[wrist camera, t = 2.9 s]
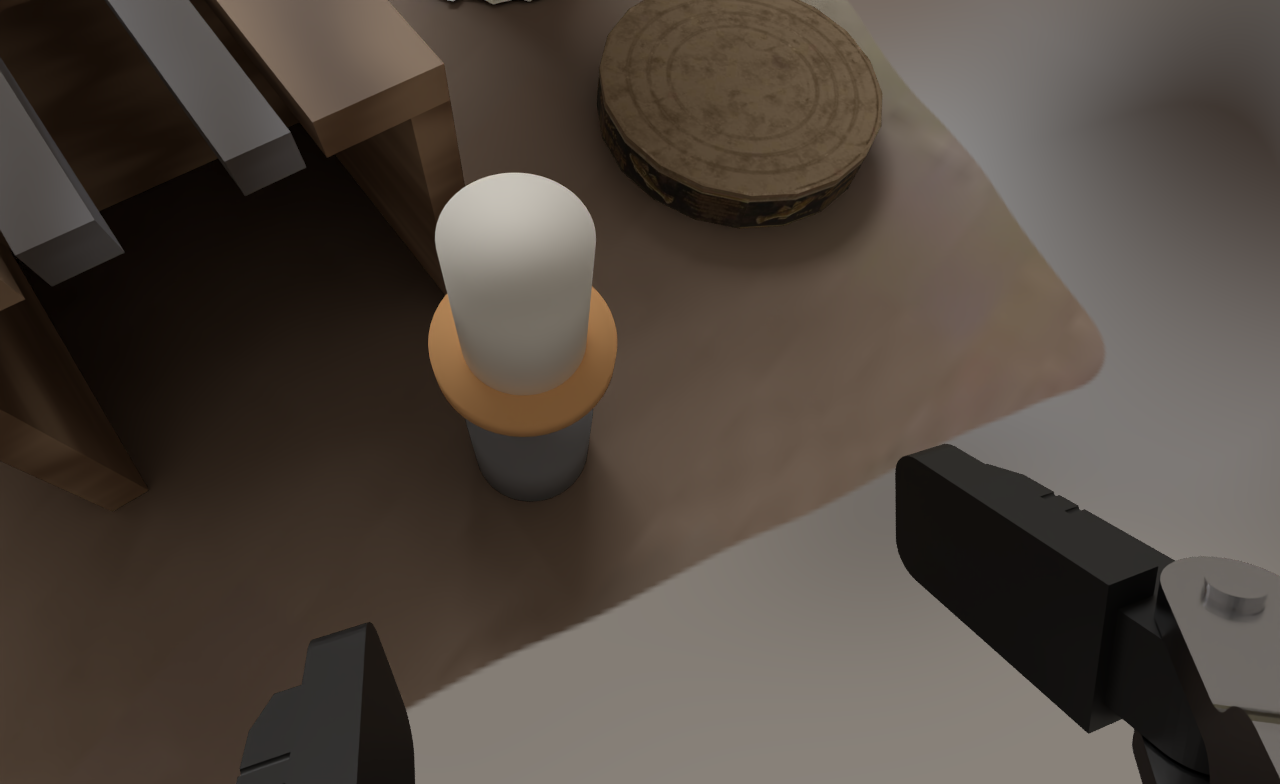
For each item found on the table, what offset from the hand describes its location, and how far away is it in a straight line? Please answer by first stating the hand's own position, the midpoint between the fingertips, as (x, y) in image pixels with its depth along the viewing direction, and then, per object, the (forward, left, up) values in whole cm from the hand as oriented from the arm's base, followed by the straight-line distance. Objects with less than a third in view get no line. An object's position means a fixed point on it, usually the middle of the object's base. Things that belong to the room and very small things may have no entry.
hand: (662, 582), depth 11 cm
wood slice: (+29, +12, -21) cm, 38 cm away
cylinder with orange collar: (+6, +8, -21) cm, 23 cm away
